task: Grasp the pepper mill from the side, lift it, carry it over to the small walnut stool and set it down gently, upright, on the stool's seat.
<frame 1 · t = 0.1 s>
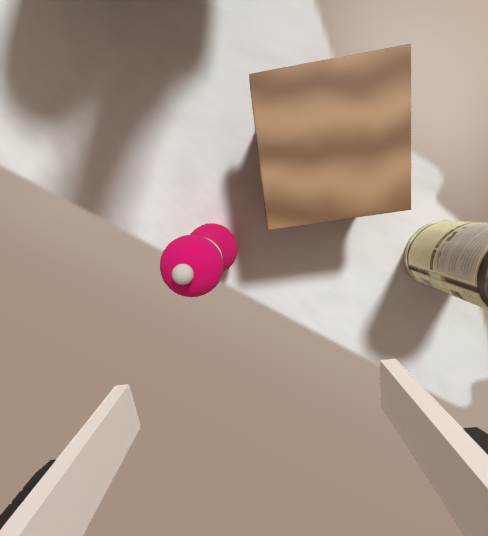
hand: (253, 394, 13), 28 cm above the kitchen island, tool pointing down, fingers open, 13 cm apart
pepper mill: (216, 245, 40), on the kitchen island
coffee can: (436, 253, 38), on the kitchen island
stool: (312, 163, 36), on the kitchen island
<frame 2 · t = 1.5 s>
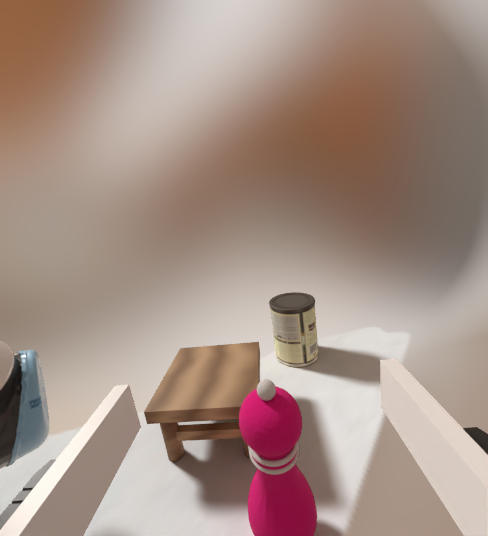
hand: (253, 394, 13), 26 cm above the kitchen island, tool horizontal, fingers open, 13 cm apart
coffee can: (296, 355, 60), on the kitchen island
stool: (220, 419, 44), on the kitchen island
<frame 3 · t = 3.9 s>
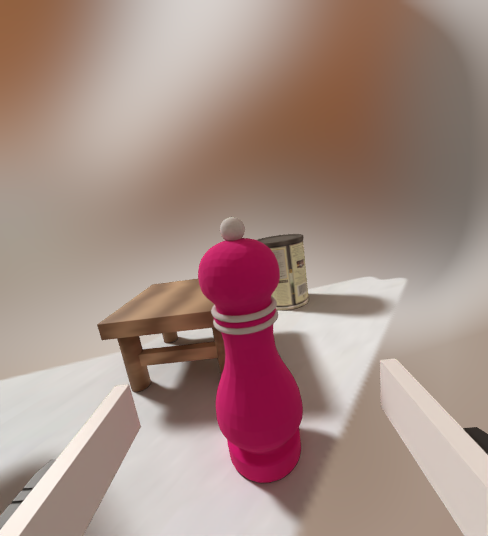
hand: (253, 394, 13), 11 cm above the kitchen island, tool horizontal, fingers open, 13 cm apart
pepper mill: (265, 447, 22), on the kitchen island
coffee can: (285, 301, 54), on the kitchen island
stool: (195, 354, 38), on the kitchen island
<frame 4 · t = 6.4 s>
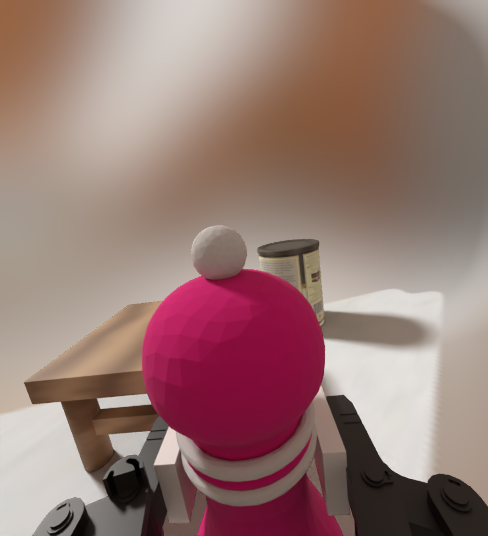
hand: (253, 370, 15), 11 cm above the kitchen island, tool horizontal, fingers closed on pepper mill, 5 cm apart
coffee can: (295, 321, 45), on the kitchen island
stool: (180, 403, 28), on the kitchen island
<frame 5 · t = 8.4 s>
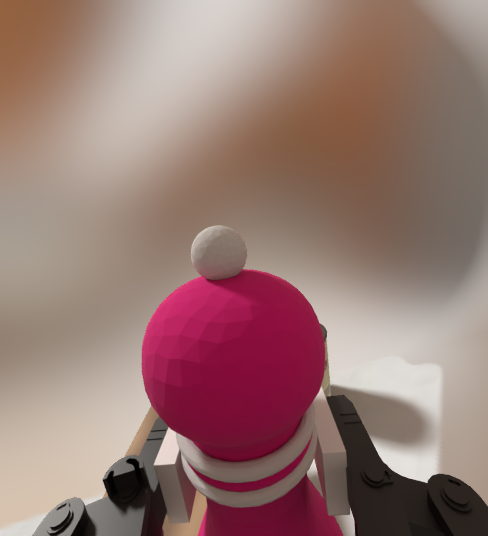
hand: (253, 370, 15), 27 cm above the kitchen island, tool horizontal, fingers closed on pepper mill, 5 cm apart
coffee can: (303, 398, 48), on the kitchen island
stool: (204, 513, 31), on the kitchen island
when the fingers open (22 cm above the kitchen island, at t = 10.8 s): pepper mill drops 1 cm, resting on stool.
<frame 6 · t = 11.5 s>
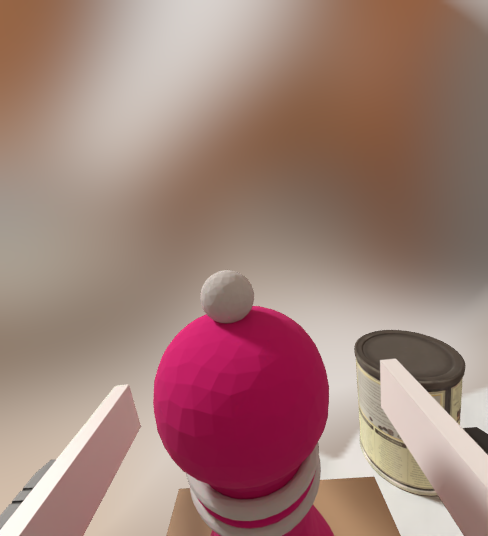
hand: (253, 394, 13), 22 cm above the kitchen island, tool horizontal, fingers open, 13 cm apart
coffee can: (404, 452, 31), on the kitchen island
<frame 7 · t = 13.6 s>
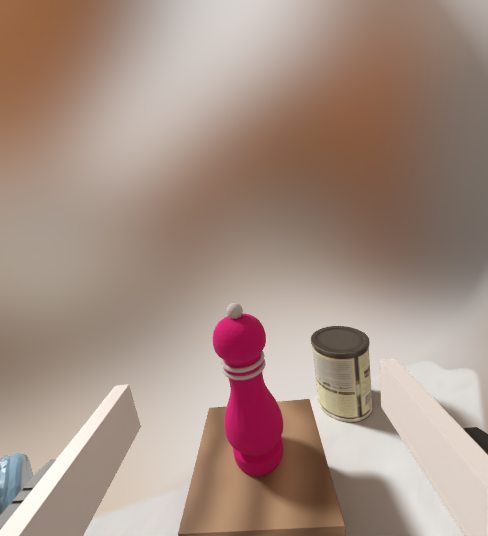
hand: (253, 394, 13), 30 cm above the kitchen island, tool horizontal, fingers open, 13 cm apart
pepper mill: (258, 452, 31), point 10 cm above the kitchen island, touching stool
coffee can: (343, 402, 50), on the kitchen island
stool: (268, 511, 33), on the kitchen island
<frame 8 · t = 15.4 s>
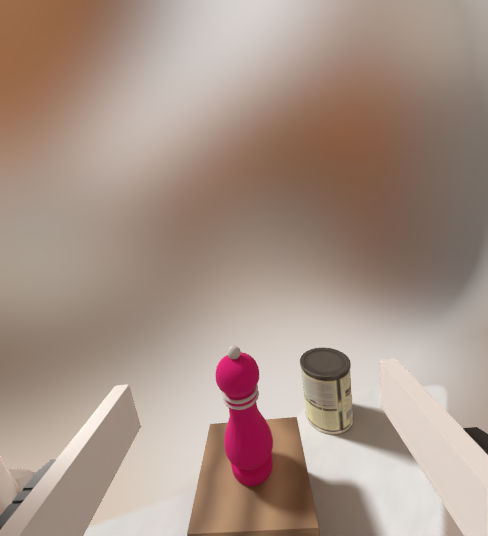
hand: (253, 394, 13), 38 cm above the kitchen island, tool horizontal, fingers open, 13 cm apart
pepper mill: (252, 465, 37), point 10 cm above the kitchen island, touching stool
coffee can: (328, 415, 56), on the kitchen island
stool: (260, 513, 40), on the kitchen island
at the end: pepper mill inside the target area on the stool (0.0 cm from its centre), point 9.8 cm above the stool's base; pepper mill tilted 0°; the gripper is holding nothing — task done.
